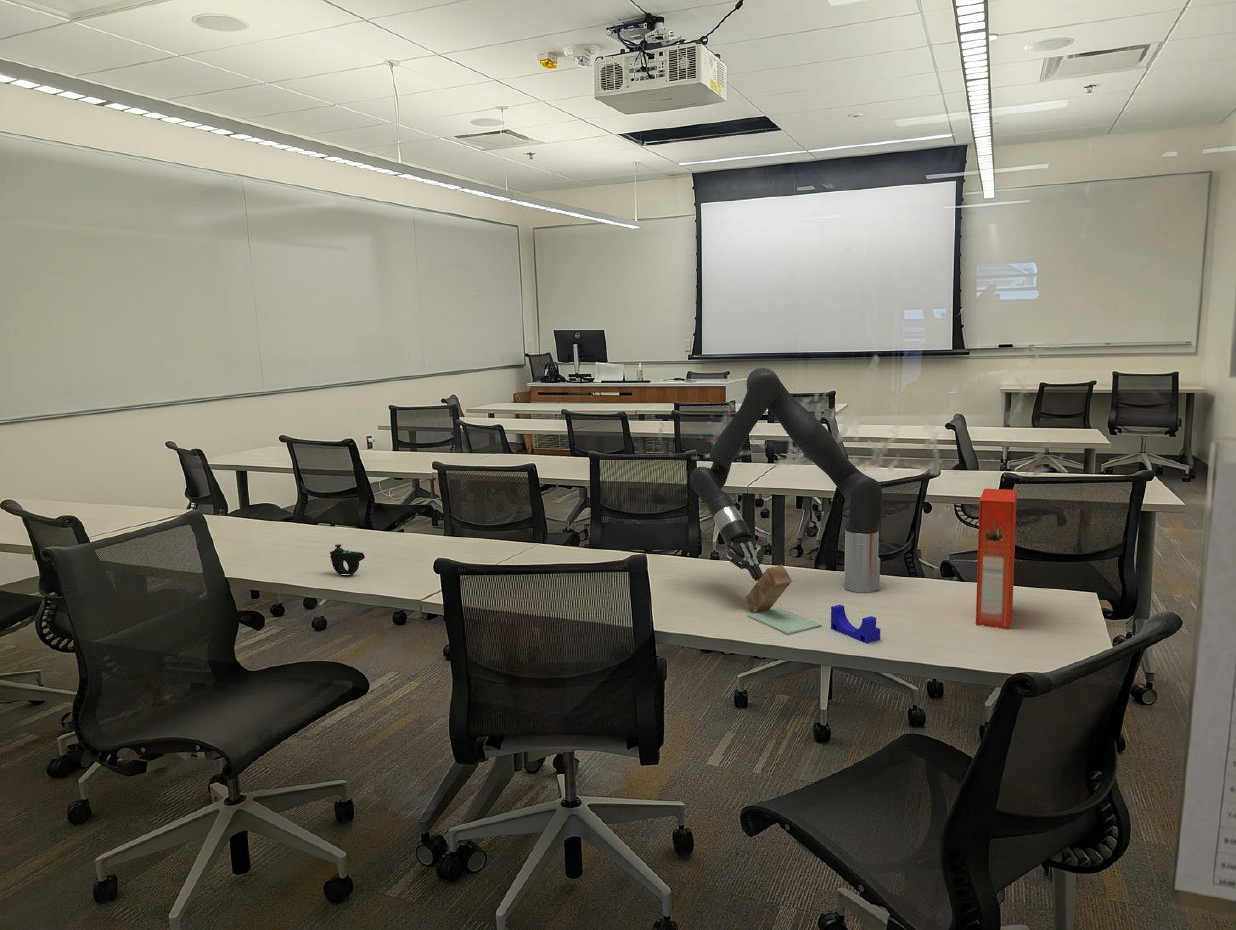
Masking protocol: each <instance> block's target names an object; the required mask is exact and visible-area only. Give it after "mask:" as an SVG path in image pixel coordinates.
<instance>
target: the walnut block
mask: <svg viewBox="0 0 1236 930" xmlns="http://www.w3.org/2000/svg"><path fill="white" fill-rule="evenodd" d="M792 582H793V580H792V578H791V577H790V575H789V573H788V571H787V570H786V568H785V567H784V565H781V564H780V565H779V566H778V565H777V566H773V567H768V568H766V569H765V571H764V572H763V575H762V576H761V578H760V579H759V581H756V583H755V584H754V586H753V587H752V589H751V590H750V592H749V593H748V594H747V596H746V597H745V600H746V602H747V604H748V605H749V607H750V609H751V610H752V613H753V614H754V613H758V612H763V611H767V610H771V609H772V608H773V606H774V605H775V603H776V602H777V601H778V600H779V598H780V597H781V596H782V595H783V593H784V592H785V591H786V589H787V588H788V587H789V586H790V584H791V583H792Z"/></svg>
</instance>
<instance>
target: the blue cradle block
mask: <svg viewBox="0 0 1236 930" xmlns="http://www.w3.org/2000/svg"><path fill="white" fill-rule="evenodd" d="M861 620H862V621H861V624H860V627H859V628H858V627H855V626H854V625H853V624H852V623H851V622H850V621H849V619H848V617H847V615H846V611H845V605H843V604H837V605H831V606H830V630H832V631H835V632H838V633H840V634H842V635H845V636H847V635H848V636H847V637H849V636H850V637H849V638H852V639H854V640H857V641H859V642H861V641H862V643H864V644H870V642H871V643H874V642H878V641H881V628H880V627H877V617H875V616H872V615H871V616H866V617H862V619H861ZM873 641H874V642H873Z"/></svg>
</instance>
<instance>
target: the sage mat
mask: <svg viewBox="0 0 1236 930" xmlns="http://www.w3.org/2000/svg"><path fill="white" fill-rule="evenodd" d="M749 617H750V618H749ZM747 618H749V619H752V618H753V619H752V620H754V619H755V620H754V621H756V622H759V623H760V624H762V625H765V624H766V625H765V626H767V625H768V626H767V627H770V628H771V629H773V630H774V629H775V630H776V631H778V632H780V633H783V634H785V635H786V636H787V635H789V636H790V635H793V634H796V633H802V632H805V630H806V631H809V630H813V629H817V628H821V627H822V626H823V625H822V624H821V623H818V622H816V621H814V620H811V619H809V618H806V617H804V616H801V615H799V614H797V613H794V612H792V611H790V610H787V609H785V608H782V607H778V608H771V609H770V610H767V611H763V612H758V613H754V612H753V613H750V614H747Z"/></svg>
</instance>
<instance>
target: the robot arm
mask: <svg viewBox="0 0 1236 930" xmlns="http://www.w3.org/2000/svg"><path fill="white" fill-rule="evenodd" d="M746 390H747V391H746V394H745V396H744V398H743V401H742V403H741V405H740V407H739V408H738V410H737V412H736V413H735V414H734V416H733V417H732V419H731V420H730V421H729V422H728V424H726V426H725V427H724V428H723V430H722V432H721V433H720V434H719V436H718V438H717V439H716V441H715V443H714V444H713V446H712V448H711V449H710V451H709V453H708V454H709V458H710V460H711V461H712V463H711V466H710V467H707V466H697V467H695V468H694V469H692V471H691V474H690V476H689V477H690V479H689V480H690V485H691V487H692V489H693V491H694V492H695V493H696V495H697V496H698V497H699V499H700V500H701V502H703V503H704V504H705V505H706V507H707V508H708V511H709V512H710V515H711V516H712V518H713V521H714V523H715V524H714V525H715V526H716V529H717V530H718V532H719V534H720V535H721V537H722V540H723V542H724V544H725V546H727V548H728V551H727V553H726V554H725V555H724V558H725V559H726V560H727V561H728V562H730V563H731V564H733V565H734V566H736V567H737V568H739V569H741V570H745V569H746V570H747V571H748V572H749V574H750V576H751V578H752V579H753V580H754V582H758V581H759V579H760V578H761V576H762V575H763V574H764V572H763V571H762V569H761V567H760V565H761V564H762V563H763V561H764V558H765V557H764V556H765V550H766V546H765V545H764V544H762V545H759V544H757V543H756V541H755V540H754V539H753V538H752V535H751V531H750V529H749V527H748V525H747V524H746V521H745V520H744V517H743V516H742V514H741V513H740V512H739V510H738V509H737V507H736V505H735V503H734V501H733V499H732V498H731V496H730V495H729V493H727V492H726V491H724V490H722V489H723V488H724V487H725V485H726V482H727V480H728V477H729V475H730V470H731V468H732V463H733V462H734V460H735V459H736V457H737V456H738V454H739V452H740V450H741V449H742V447H743V446H744V444H745V442H746V441H747V439H748V437H749V435H750V433H752V430H753V429H754V427H755V426H756V425H757V423H758V422H759V420H760V418H761V417H762V416H763V415H764V413H766V411H767V410H768V411H769V412H771V414H772V415H774V417H775V418H776V419H777V421H778V422H779V424H780V426H781V427H782V428H783V430H784V431H785V433H786V434H787V435H788V437H789V439H791V441H792V442H793V443H794V444H795V445H796V446H797V447H798V449H799V450H800V451H801V452H802V453H803V454H804V455H805V456H806V457H807V458H808V459H809V460H810V461H811V462H812V463H813V464H814V465H815V466H817V467H818V468H819V469H820V470H821V471H822V472H824V473H825V474H826V476H827V477H829V479H830V480H831V481H832V482H833V483H834V485H835V486H836V488H837V489H838V490H839V493H840V494H841V495H842V497H844V499H845V500H846V501H847V502H849V516H848V518H847V519H846V521H845V524H844V525H845V526H844V534H845V535H844V537H845V538H844V580H843V582H844V586H843V587H844V588H845V590H848V591H850V592H855V593H872V592H873V593H874V592H879V591H880V588H881V587H880V586H881V584H880V583H881V558H880V557H879V533H880V532H879V529H880V524H881V523H882V518H883V517H882V514H883V501H884V500H883V499H884V498H883V496H884V495H883V489H882V488H883V487H882V486H881V484H880V482H879V481H878V480H877V479H874V478H873V477H871V476H868V475H867V474H864V473H863V472H862V471H860V469H858V468H857V467H856V466H855V465H854V464H853V463H852V462H851V461H850V460H849V459H848V458H847V457H846V455H845V454H844V452H843V451H842V448H841V446H840V445H839V443H838V442H837V440H836V438H835V437H834V436H833V435H832V433H831V432H830V431H829V430H828V429H827V428H826V427H825V425H823V424H822V423H821V422H820V420H818V419H817V418H816V417H815V416H814V415H813V414H812V413H811V412H810V411H809V410H808V409H806V408H805V407H804V406H803V405H802V404H801V403H800V402H799V401H797V400H796V399H795V398H794V396H793V395H792V394H791V393H790V391H788V389H787V387H785V385H784V384H783V383H782V381H781V380H780V378H779V376H778V374H777V373H776V372H775V371H774V370H772V369H770V368H766V367H758V368H756V369H753V370H752V371H751V372H750V373H749V374H748V376H747V379H746Z"/></svg>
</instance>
